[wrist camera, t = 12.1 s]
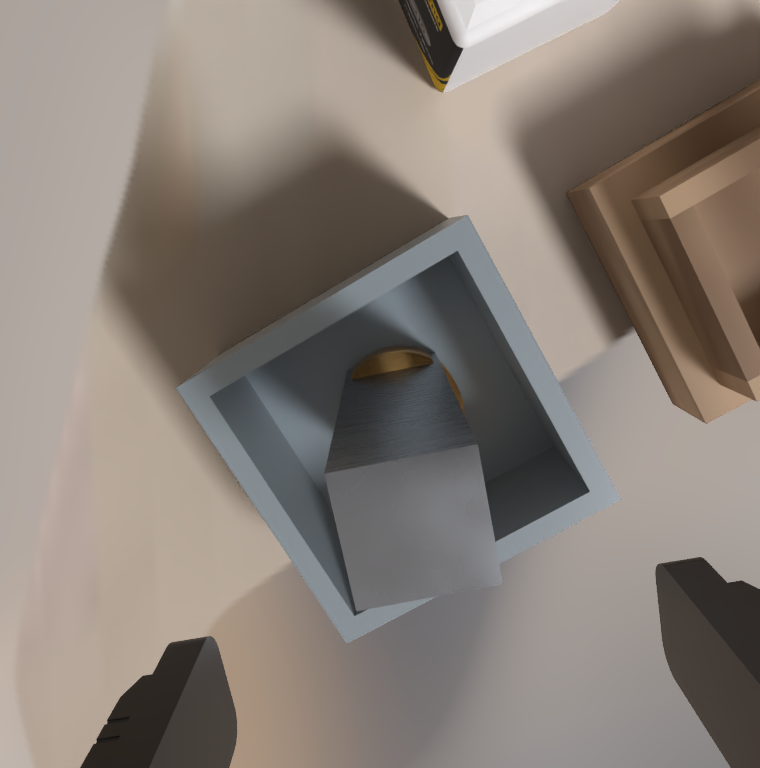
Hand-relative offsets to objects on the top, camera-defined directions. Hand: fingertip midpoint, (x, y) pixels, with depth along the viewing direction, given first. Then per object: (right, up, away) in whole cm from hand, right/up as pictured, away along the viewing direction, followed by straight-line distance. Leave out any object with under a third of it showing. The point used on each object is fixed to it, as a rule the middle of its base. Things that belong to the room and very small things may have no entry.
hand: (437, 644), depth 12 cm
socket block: (+13, +10, +15) cm, 23 cm away
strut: (0, +4, +16) cm, 16 cm away
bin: (0, +4, +17) cm, 17 cm away
